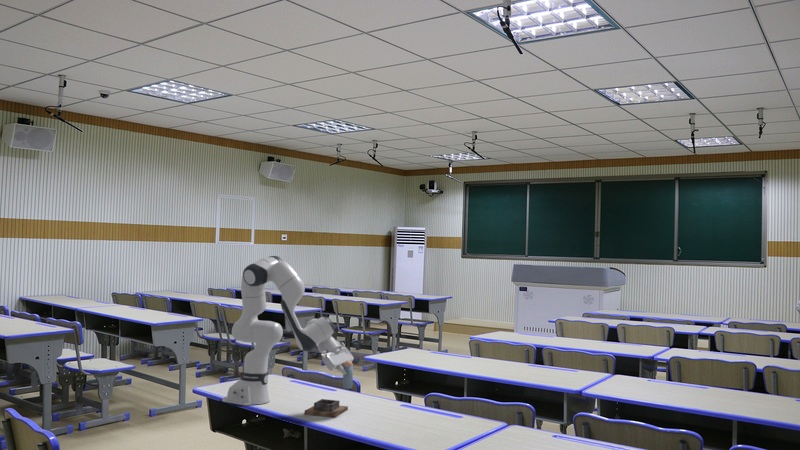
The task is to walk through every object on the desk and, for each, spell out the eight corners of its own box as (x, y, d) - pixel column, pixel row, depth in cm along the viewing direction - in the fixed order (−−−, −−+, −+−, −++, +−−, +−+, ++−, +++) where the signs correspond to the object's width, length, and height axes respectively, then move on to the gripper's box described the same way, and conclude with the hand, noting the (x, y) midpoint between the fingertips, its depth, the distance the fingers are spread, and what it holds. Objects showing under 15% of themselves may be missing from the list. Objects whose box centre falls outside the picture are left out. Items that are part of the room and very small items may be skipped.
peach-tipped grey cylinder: (341, 388, 280) (342, 361, 280) (344, 386, 284) (345, 359, 284) (350, 389, 279) (351, 361, 279) (353, 386, 283) (354, 360, 283)
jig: (304, 414, 277) (304, 403, 277) (318, 406, 292) (318, 396, 292) (335, 417, 273) (335, 407, 273) (347, 409, 287) (348, 399, 288)
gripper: (324, 348, 275) (343, 372, 271) (345, 342, 294) (363, 364, 290) (314, 357, 276) (333, 381, 272) (336, 350, 295) (354, 373, 291)
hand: (349, 372), depth 281 cm, fingers closed on peach-tipped grey cylinder, 4 cm apart
